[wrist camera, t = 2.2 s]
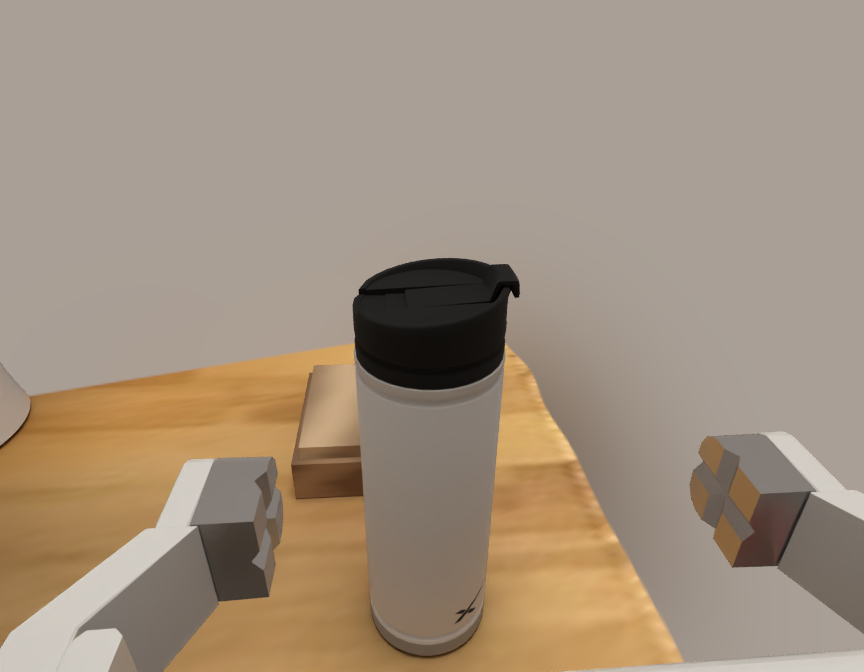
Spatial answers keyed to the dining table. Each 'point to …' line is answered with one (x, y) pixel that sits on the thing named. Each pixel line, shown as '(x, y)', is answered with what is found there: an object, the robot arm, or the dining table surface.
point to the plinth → (329, 436)
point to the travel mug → (430, 442)
